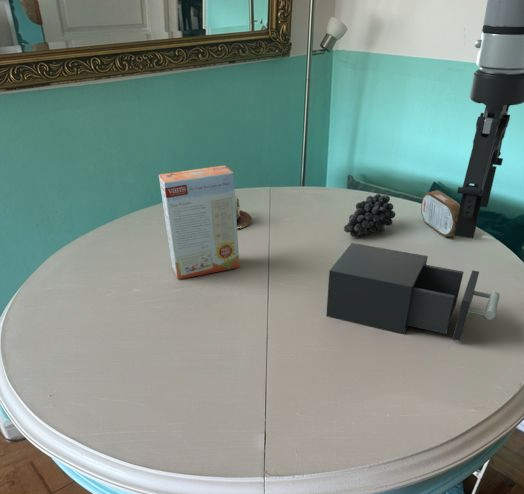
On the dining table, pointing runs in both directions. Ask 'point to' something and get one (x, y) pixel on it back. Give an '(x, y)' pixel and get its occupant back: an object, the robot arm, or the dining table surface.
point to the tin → (440, 212)
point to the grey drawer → (445, 300)
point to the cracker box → (200, 220)
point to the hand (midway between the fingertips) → (471, 220)
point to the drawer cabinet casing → (373, 286)
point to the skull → (241, 215)
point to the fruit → (370, 215)
